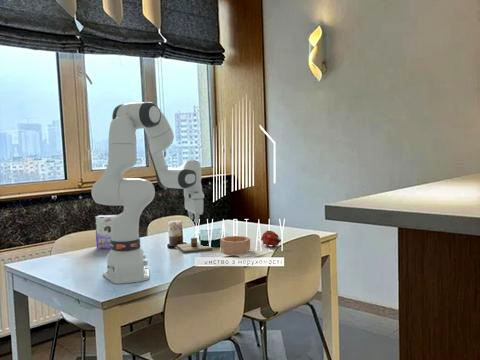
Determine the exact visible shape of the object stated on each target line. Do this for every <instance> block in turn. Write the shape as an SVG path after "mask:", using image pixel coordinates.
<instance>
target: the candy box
mask: <svg viewBox="0 0 480 360" xmlns="http://www.w3.org/2000/svg"><path fill="white" fill-rule="evenodd" d="M117 215H118V214H106V215H105V214H104V215H103V214H98V215H97V216H94V222H95V238H96V242H95V243H96V250H98V249H99V250H100V249H101V250H105V249H106V250H107V249H108V250H111V248H110V240H111V221H112V219H113V218H114V217H115V216H117Z"/></svg>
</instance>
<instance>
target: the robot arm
mask: <svg viewBox="0 0 480 360" xmlns="http://www.w3.org/2000/svg"><path fill="white" fill-rule="evenodd" d="M111 117H112V120H111V121H110V125H109V130H108V153H107V154H108V155H107V156H108V157H107V166H106V168H105V171H104V173H102V175H101V176H100V178H99V179H97V180H96V181H95V182H94V184H93V185H92V187H91V197H92V199H93V201H94V202H95V203H96V204H99V205H104V206H122V207H123V212H121V213H119V214H116V215H117V216H115V217H114V218H113V219H112V221H111V240H110V248H111V249H110V251H109V252H108V253H107V254H106V271H103V272H102V276H103V277H105V278H106V279H108V281H110V282H111V283H112V284H117V285H118V284H131V283H140V282H144V281H148V280H150V267H149V266H148V259H146V257H147V256H146V254H144V250H143V249H142V248H141V247H142V246H141V239H140V233H139V227H140V217H141V215H142V213H143V211H144V210H145V208H146V207H147V206H148V205H149V204H150V203H151V202H153V200H154V198H155V196H156V195H155V193H156V191H155V190H156V189H155V186H154V184H153V183H152V182H151V181H150V180H147V179H144V178H124V174H125V172H126V171H128V170H130V169H132V168H133V167H135V165H136V164H137V136H136V135H137V134H136V131H137V130H140V129H141V130H142V129H144V132H145V134H146V137H147V138H148V146H147V148H148V153H149V155H150V156H149V157H150V160H151V162H152V166H153V168H154V172H155V179H156V183H157V184H158V186H159V187H160V188H161V189H182V190H183V197H184V209H185V210H187V214H188V219H189V220H194V223H195V224H199V223H200V215H203V214H204V199H205V194H204V191H203V185H202V179H203V178H202V166H201V163H200V161H198V160H195V159H185V160H184V162H183V163H182V165H181V166H179V167H170V166H168V165H167V163H166V159H165V157H164V151H166V150H167V149H168V148H170V146H171V145H172V144H173V143H174V142H173V141H174V137H175V136H174V133H173V129H172V128H171V127H172V126H171V125H170V123H169V121H168V119H167V118H166V116H165V114H164V113H163V112H162V110H161V109H160V107H159V106H158V105H157V104H156V103H154V102H151V101H145V102H144V101H143V102H141V101H139V102H137V101H133V102H128V103H121V104H118V105H117V106H115V108H114V109H113V112H112V116H111Z"/></svg>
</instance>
